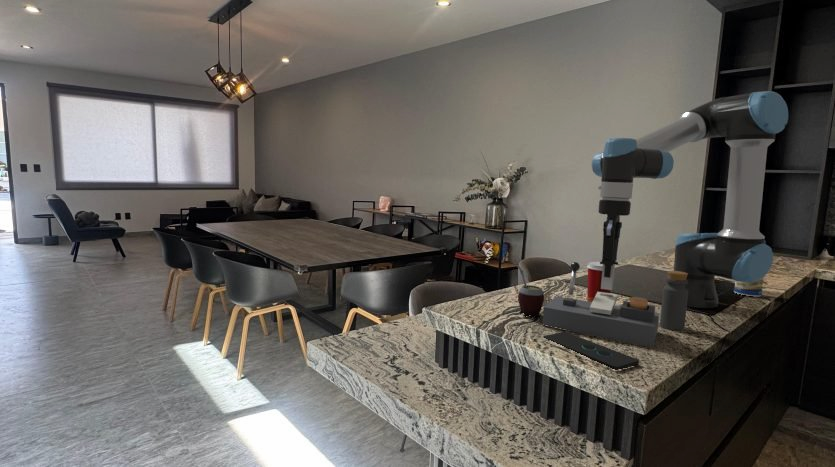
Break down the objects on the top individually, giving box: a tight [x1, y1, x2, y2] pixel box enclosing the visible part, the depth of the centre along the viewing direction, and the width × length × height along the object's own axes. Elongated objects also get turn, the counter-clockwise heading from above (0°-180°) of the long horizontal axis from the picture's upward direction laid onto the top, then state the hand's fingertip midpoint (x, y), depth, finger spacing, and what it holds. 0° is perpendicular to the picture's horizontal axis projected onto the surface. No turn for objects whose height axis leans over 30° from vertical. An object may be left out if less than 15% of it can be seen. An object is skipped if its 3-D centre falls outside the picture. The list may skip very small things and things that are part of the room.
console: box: [542, 296, 660, 349], centre depth 119 cm, size 14×26×8 cm, turn 59°
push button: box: [629, 296, 649, 310], centre depth 114 cm, size 4×4×2 cm
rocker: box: [590, 292, 618, 315], centre depth 119 cm, size 10×5×1 cm, turn 149°
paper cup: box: [586, 261, 616, 302], centre depth 137 cm, size 8×8×14 cm
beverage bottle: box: [733, 240, 767, 298], centre depth 165 cm, size 8×8×20 cm
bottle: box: [659, 270, 688, 331], centre depth 123 cm, size 6×6×15 cm
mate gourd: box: [512, 262, 545, 318], centre depth 129 cm, size 8×8×15 cm
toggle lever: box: [568, 261, 581, 296], centre depth 124 cm, size 2×2×9 cm
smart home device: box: [542, 331, 640, 370], centre depth 103 cm, size 8×2×20 cm
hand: (606, 288), depth 121 cm, fingers closed
